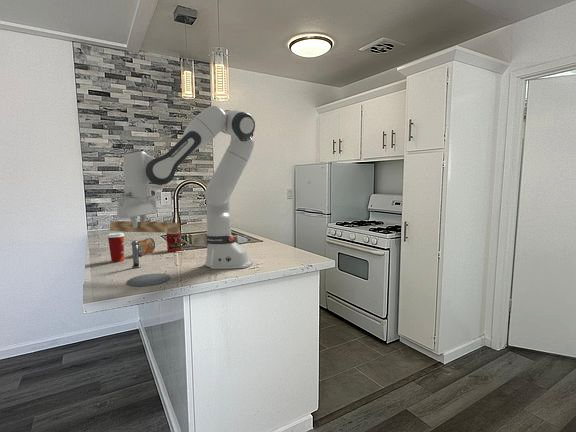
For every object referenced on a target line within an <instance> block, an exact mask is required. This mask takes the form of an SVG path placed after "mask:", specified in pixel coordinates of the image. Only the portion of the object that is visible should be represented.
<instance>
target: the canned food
mask: <svg viewBox="0 0 576 432" xmlns="http://www.w3.org/2000/svg"><path fill="white" fill-rule="evenodd" d="M166 248H167V252H170V253H175V251H177V252H180V250H181V251H182V236H181V231H180V233H166Z"/></svg>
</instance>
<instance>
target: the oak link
mask: <svg viewBox="0 0 576 432" xmlns="http://www.w3.org/2000/svg"><path fill="white" fill-rule="evenodd" d="M137 222H138V223H139V227H138V228H133V223H132V221H131V220H130V221H122V220H121V221H120V220H119V221H117V220H110V224H109V231H110V232H122V233H124V232H126V233H127V232H130V233H131V232H132V233H180V232H181V223H178V222H176V223H175V222H167V221H145V222H140V221H137Z"/></svg>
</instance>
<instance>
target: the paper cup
mask: <svg viewBox="0 0 576 432" xmlns="http://www.w3.org/2000/svg"><path fill="white" fill-rule="evenodd" d="M107 239H108V240H107V241H108V246H109V254H110V260H111V261H110V262H111V263H121V262H124V261H125V234H124V232H112V233H108V234H107Z"/></svg>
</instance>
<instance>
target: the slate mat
mask: <svg viewBox="0 0 576 432" xmlns="http://www.w3.org/2000/svg"><path fill="white" fill-rule="evenodd" d="M170 279H171V275H170V274H167V273H158V272H157V273H147V274H141V275H138V276H133V277H132V278H129V279H128V280H127V281H126V284H127V285H128V286H130V287H150V286H156V285H160V284H163V283H166V282H168V281H169V280H170Z"/></svg>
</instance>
